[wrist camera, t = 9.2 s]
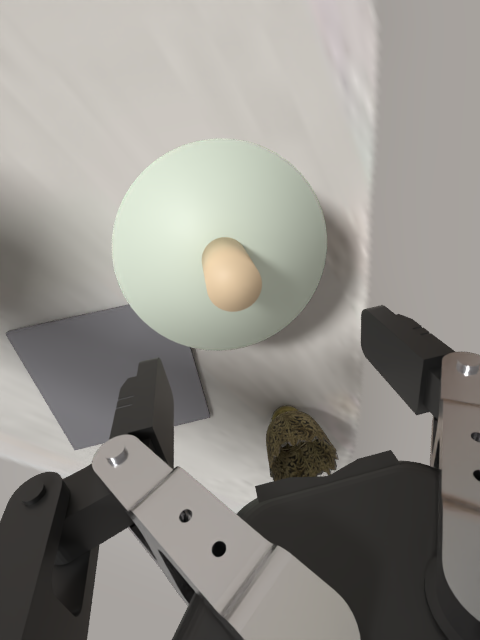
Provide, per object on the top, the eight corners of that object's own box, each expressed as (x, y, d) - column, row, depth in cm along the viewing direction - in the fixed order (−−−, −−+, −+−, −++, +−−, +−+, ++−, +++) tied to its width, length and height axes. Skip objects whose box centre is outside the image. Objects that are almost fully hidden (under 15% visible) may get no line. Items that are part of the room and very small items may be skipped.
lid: (78, 165, 21) (42, 173, 15) (313, 117, 21) (359, 108, 16) (152, 360, 28) (145, 413, 22) (326, 319, 29) (360, 360, 23)
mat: (8, 330, 32) (5, 334, 31) (175, 294, 33) (175, 296, 32) (76, 446, 40) (74, 450, 39) (209, 413, 40) (209, 417, 40)
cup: (276, 444, 45) (295, 500, 38) (243, 415, 41) (256, 470, 34) (323, 413, 44) (350, 465, 37) (292, 380, 40) (316, 430, 33)
